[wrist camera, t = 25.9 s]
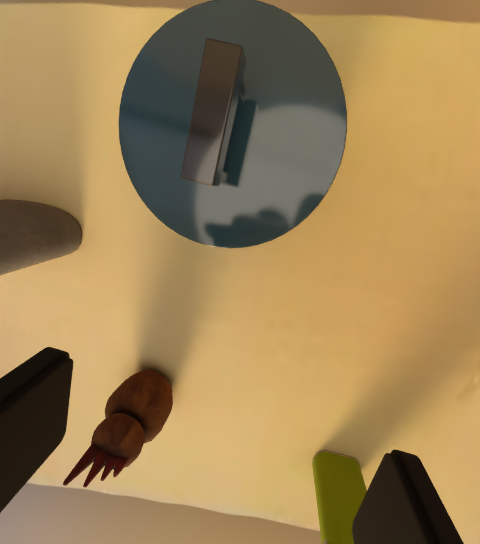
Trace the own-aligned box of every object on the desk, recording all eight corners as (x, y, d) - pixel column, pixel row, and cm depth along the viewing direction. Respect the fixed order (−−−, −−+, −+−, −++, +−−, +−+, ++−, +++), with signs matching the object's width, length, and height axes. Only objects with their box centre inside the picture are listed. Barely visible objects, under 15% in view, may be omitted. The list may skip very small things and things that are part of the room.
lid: (377, 37, 18) (428, -41, 12) (304, 268, 22) (314, 299, 16) (144, -16, 19) (77, -115, 13) (113, 216, 23) (52, 227, 17)
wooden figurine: (121, 380, 41) (35, 485, 26) (147, 353, 39) (71, 448, 25) (160, 413, 41) (97, 534, 27) (188, 387, 40) (136, 501, 25)
